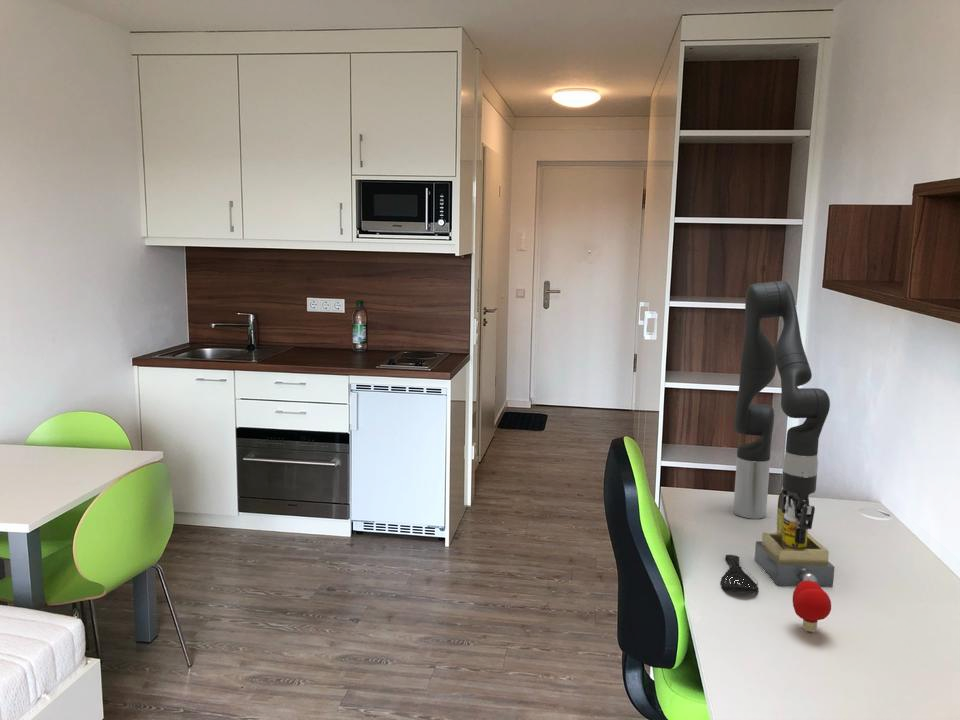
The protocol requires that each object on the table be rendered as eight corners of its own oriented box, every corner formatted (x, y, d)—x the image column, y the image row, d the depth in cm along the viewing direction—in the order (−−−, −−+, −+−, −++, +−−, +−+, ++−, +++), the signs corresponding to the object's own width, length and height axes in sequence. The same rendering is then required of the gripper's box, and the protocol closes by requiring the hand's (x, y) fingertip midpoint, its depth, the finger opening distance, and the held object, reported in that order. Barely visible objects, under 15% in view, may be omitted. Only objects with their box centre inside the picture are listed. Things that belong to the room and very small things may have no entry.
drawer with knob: (754, 560, 193) (756, 529, 192) (806, 560, 193) (808, 530, 191) (781, 591, 175) (784, 558, 174) (838, 592, 175) (841, 559, 174)
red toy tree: (783, 620, 161) (787, 575, 160) (817, 621, 161) (821, 576, 160) (800, 642, 152) (804, 595, 151) (836, 644, 152) (840, 596, 150)
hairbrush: (748, 548, 194) (762, 585, 170) (747, 562, 194) (761, 601, 170) (714, 545, 196) (723, 581, 171) (713, 559, 196) (723, 597, 172)
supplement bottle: (776, 546, 186) (779, 505, 184) (791, 542, 188) (794, 502, 187) (795, 554, 181) (799, 512, 179) (811, 550, 183) (814, 509, 182)
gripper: (772, 462, 189) (768, 527, 191) (796, 479, 174) (790, 549, 177) (803, 462, 189) (798, 527, 191) (829, 480, 174) (823, 550, 177)
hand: (794, 538), depth 184 cm, fingers closed on supplement bottle, 5 cm apart
